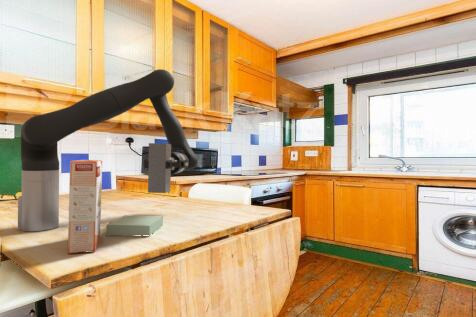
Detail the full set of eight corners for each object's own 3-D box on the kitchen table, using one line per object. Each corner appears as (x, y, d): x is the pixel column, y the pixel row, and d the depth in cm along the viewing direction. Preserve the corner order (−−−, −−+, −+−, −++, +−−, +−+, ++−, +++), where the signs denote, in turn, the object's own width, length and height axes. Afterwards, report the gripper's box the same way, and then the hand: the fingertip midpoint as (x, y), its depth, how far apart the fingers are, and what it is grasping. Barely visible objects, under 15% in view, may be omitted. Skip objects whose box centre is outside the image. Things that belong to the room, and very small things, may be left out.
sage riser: (106, 235, 79) (106, 224, 79) (125, 225, 91) (125, 215, 91) (149, 236, 79) (149, 225, 79) (162, 225, 91) (162, 216, 91)
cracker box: (97, 252, 66) (98, 160, 65) (66, 255, 63) (67, 160, 63) (102, 235, 79) (103, 159, 78) (77, 237, 76) (78, 159, 76)
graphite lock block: (147, 192, 82) (148, 143, 81) (153, 190, 87) (154, 143, 86) (165, 193, 81) (166, 143, 81) (170, 190, 86) (171, 144, 86)
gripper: (152, 151, 99) (132, 150, 82) (194, 152, 98) (182, 151, 81) (152, 173, 99) (131, 177, 82) (193, 174, 98) (181, 178, 81)
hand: (157, 164), depth 81 cm, fingers closed on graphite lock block, 5 cm apart
